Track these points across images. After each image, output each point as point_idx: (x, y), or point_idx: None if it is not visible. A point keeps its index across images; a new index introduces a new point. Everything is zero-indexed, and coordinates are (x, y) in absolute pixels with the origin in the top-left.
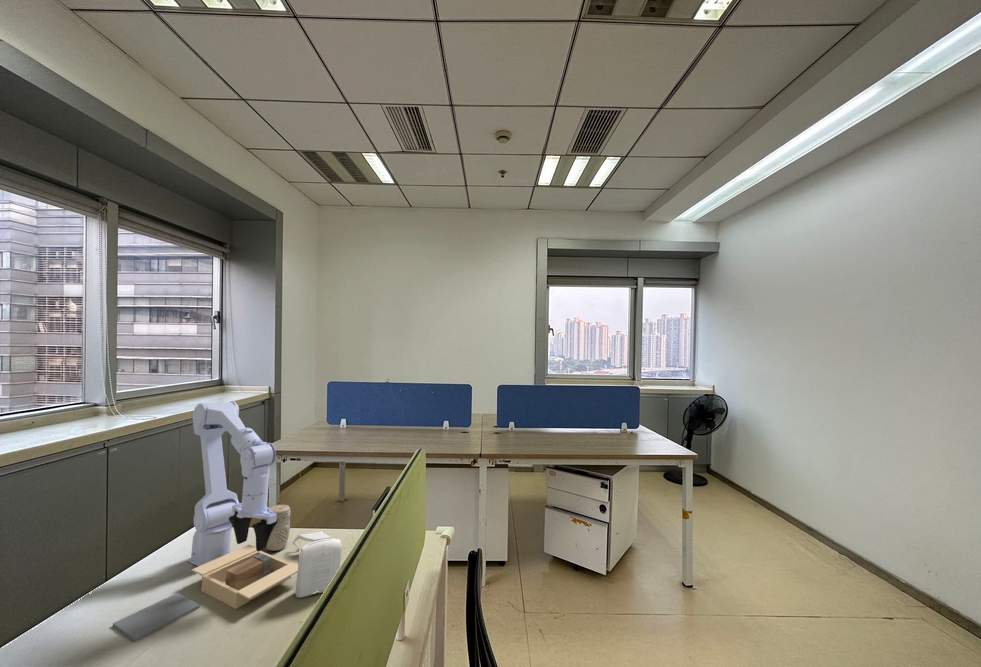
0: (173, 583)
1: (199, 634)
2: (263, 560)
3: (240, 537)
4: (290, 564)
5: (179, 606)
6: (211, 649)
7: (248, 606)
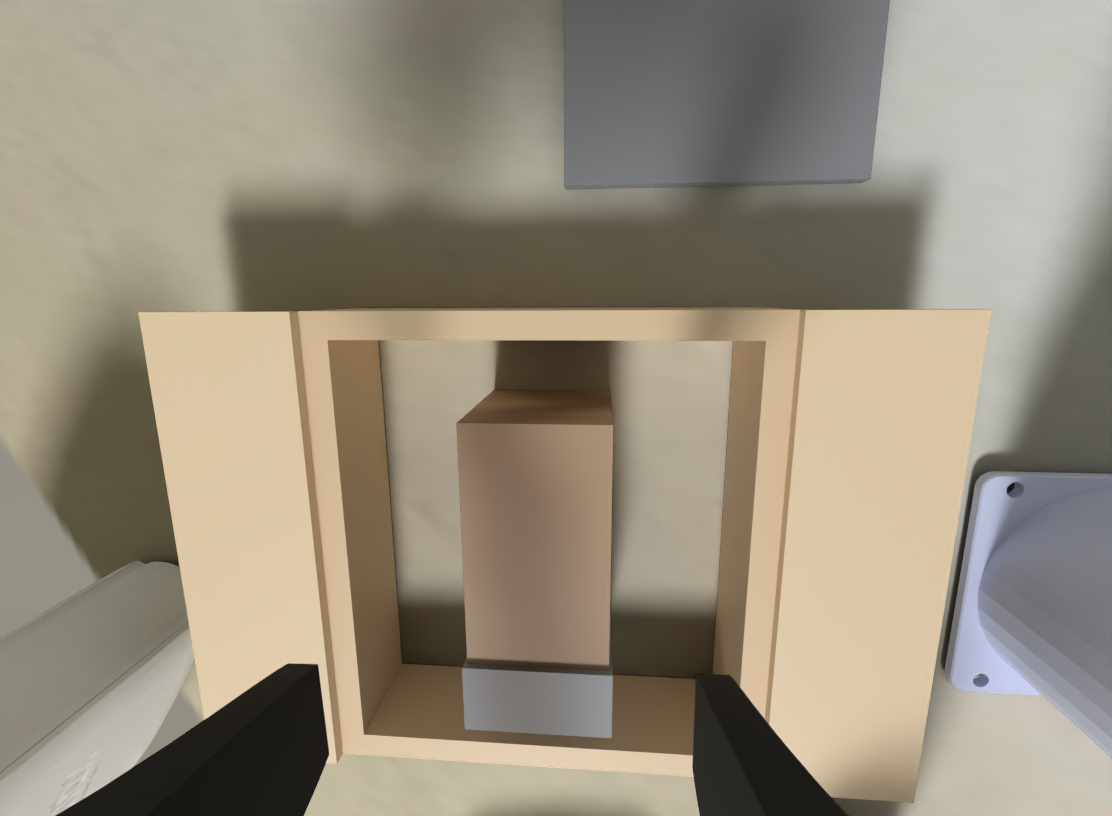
0: (1058, 250)
1: (288, 37)
2: (474, 670)
3: (718, 765)
4: None
5: (676, 93)
6: (96, 5)
7: None
